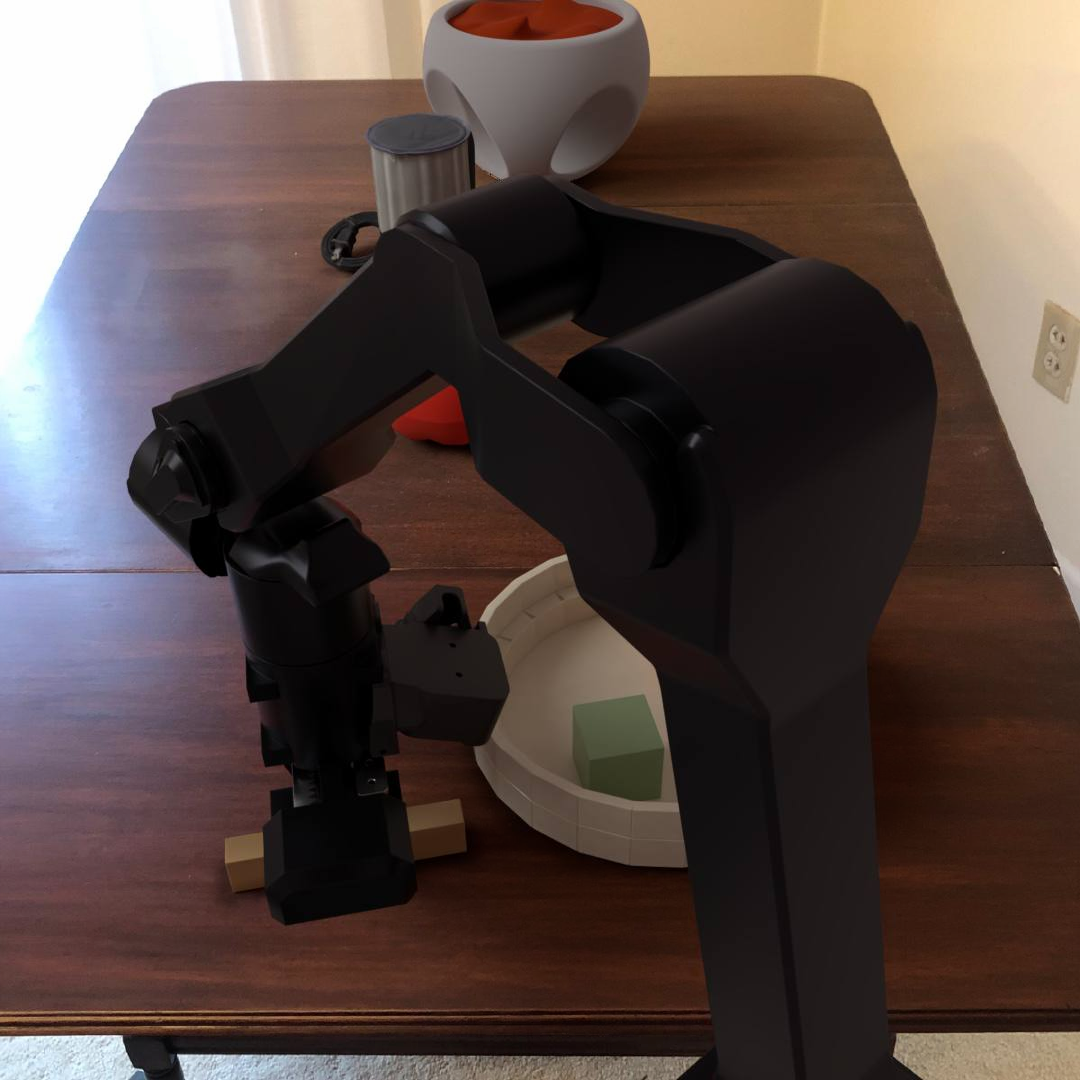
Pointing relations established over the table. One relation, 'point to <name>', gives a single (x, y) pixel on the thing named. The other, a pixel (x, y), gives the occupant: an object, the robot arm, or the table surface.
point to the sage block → (618, 748)
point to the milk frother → (406, 176)
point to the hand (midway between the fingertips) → (348, 847)
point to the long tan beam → (430, 835)
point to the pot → (539, 80)
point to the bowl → (571, 722)
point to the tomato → (435, 420)
